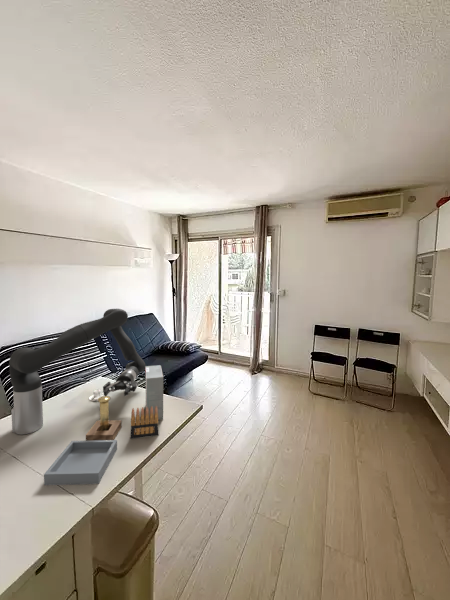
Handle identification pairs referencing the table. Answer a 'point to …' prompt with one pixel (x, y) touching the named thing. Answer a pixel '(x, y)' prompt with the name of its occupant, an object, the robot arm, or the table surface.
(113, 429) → the socket block
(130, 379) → the robot arm
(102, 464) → the slate tray
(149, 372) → the hard drive box
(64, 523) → the table surface
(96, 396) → the white rounded piece
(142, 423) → the ammunition clip
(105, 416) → the pin
